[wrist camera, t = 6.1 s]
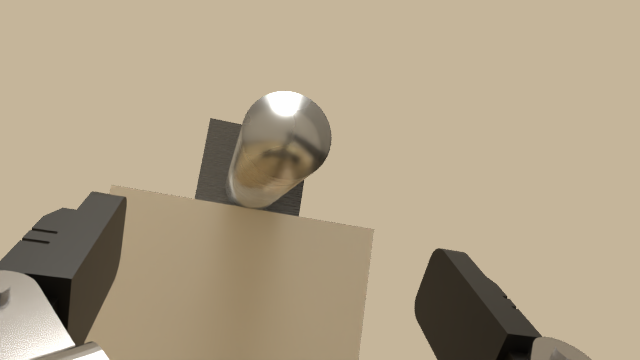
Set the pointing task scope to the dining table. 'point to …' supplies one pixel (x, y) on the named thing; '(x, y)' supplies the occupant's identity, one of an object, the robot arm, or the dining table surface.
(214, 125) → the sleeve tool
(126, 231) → the tall beige cuboid
